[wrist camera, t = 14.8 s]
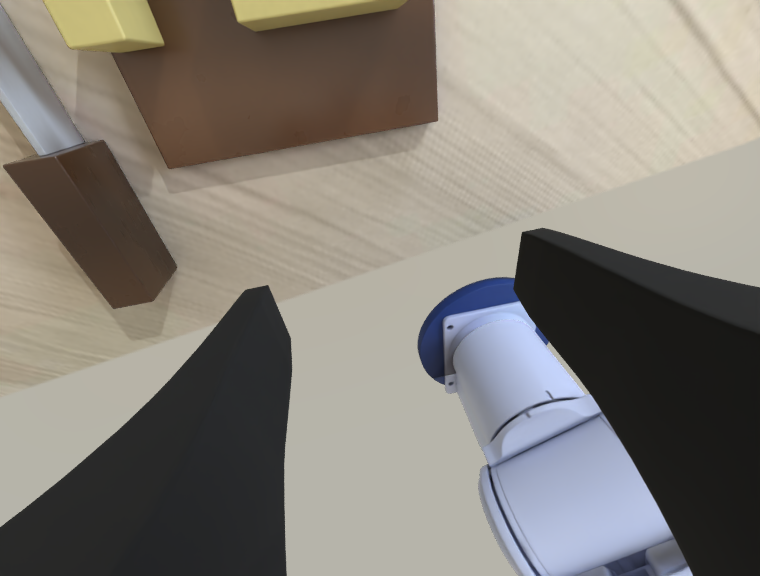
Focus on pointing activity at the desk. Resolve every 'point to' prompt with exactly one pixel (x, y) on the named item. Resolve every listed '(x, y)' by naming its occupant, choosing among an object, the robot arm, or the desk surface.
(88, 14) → the butter pat
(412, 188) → the desk surface
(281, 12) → the butter
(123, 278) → the knife
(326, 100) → the butter board
